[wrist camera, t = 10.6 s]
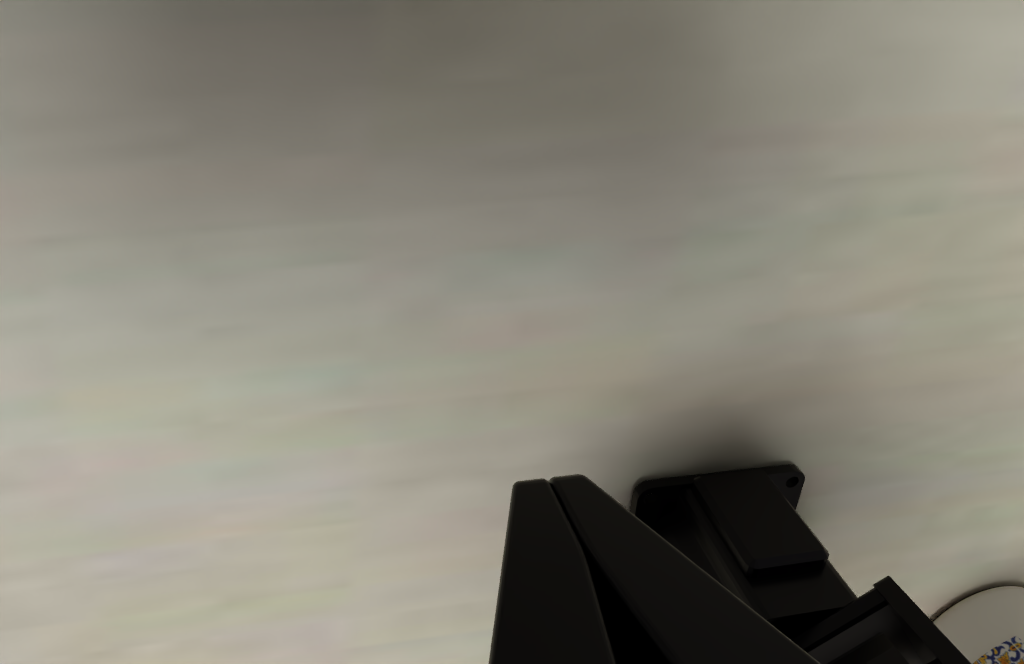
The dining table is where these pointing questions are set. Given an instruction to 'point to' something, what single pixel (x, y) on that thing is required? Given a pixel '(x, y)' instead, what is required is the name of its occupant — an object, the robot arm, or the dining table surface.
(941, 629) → the bath foam
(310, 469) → the dining table surface
